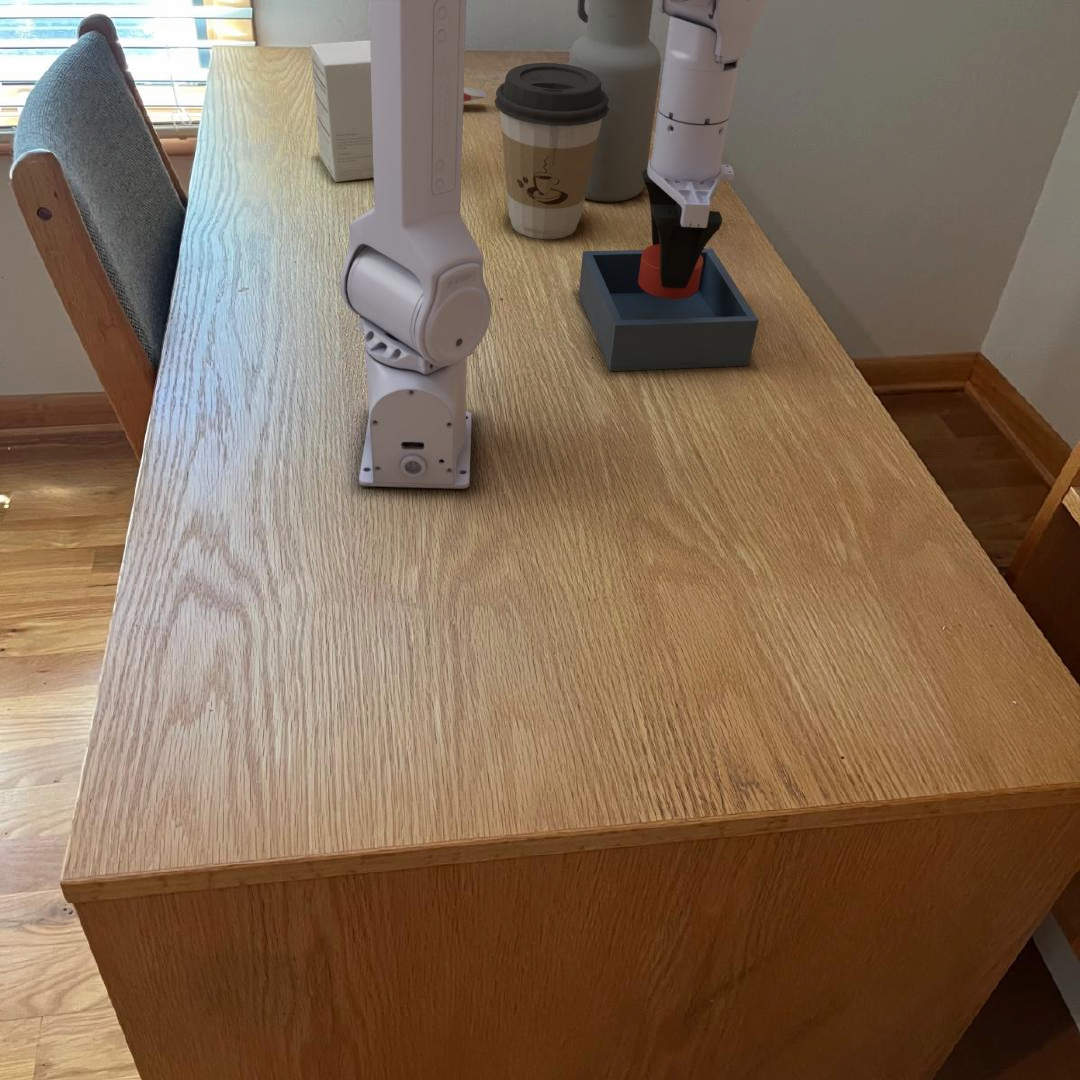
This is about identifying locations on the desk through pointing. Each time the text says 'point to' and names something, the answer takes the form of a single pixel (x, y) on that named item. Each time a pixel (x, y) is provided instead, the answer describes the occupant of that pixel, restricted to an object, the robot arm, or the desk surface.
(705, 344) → the bin
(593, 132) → the coffee cup
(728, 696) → the desk surface
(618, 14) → the water bottle
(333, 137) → the white packaging box
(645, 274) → the red cylinder
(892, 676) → the desk surface
